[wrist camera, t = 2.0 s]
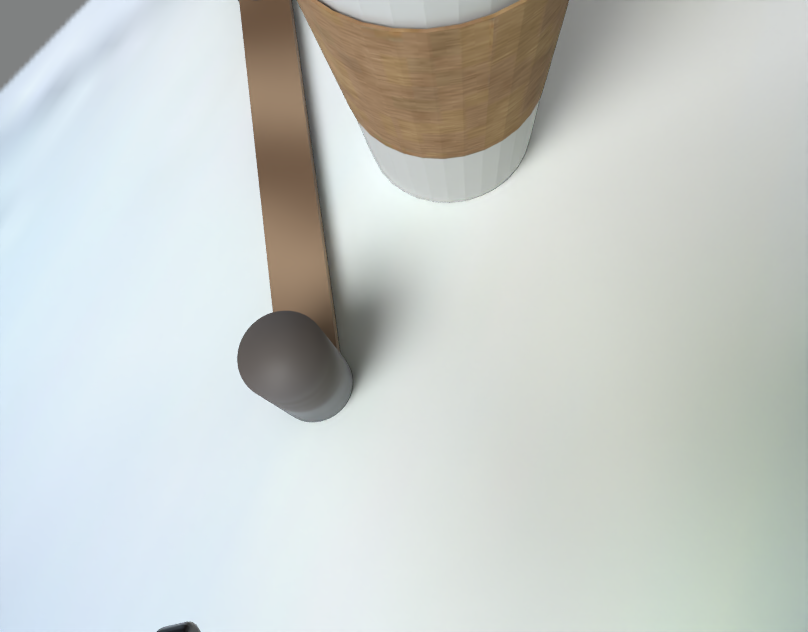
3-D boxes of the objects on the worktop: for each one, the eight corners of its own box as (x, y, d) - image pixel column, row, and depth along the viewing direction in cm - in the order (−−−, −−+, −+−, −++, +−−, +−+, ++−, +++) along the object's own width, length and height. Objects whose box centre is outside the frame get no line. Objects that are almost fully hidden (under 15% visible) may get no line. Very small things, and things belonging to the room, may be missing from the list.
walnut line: (232, -33, 29) (194, -117, 26) (292, -47, 29) (263, -133, 25) (281, 428, 23) (241, 407, 19) (357, 414, 23) (332, 390, 19)
